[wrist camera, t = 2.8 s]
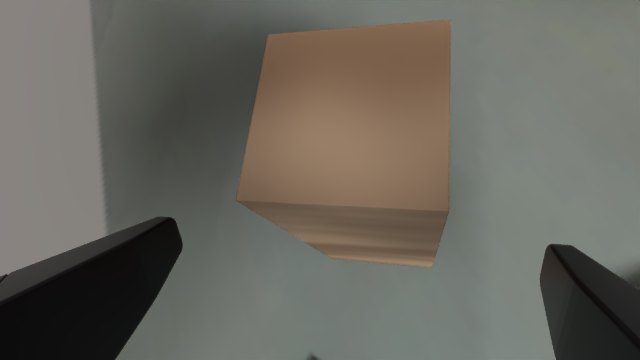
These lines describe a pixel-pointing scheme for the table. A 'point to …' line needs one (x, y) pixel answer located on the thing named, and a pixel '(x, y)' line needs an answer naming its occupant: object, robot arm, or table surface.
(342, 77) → the walnut block
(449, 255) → the table surface
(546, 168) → the table surface
